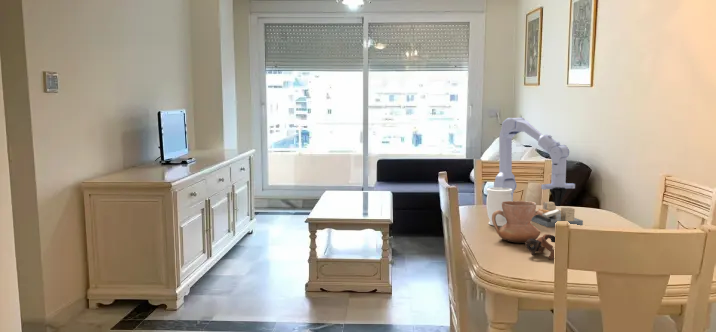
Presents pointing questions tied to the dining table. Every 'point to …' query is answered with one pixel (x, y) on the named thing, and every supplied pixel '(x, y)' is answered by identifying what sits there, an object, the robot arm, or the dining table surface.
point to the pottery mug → (539, 242)
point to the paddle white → (552, 213)
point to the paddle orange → (544, 211)
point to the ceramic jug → (517, 221)
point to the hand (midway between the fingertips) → (557, 205)
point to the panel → (565, 215)
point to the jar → (497, 203)
